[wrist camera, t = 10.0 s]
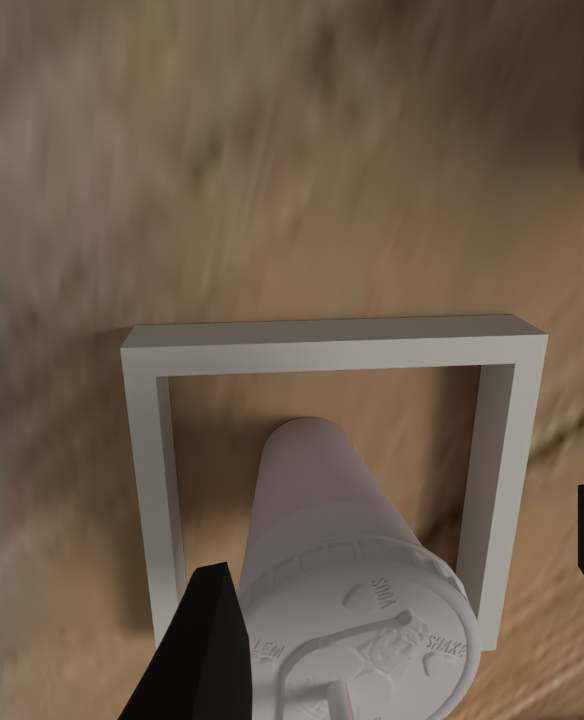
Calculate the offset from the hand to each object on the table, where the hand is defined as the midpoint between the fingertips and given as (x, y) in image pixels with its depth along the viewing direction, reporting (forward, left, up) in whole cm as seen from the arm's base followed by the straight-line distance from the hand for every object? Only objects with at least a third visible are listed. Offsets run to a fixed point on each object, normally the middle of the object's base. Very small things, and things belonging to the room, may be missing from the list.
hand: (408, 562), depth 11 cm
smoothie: (+1, +4, -11) cm, 11 cm away
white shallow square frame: (0, +5, -10) cm, 11 cm away
